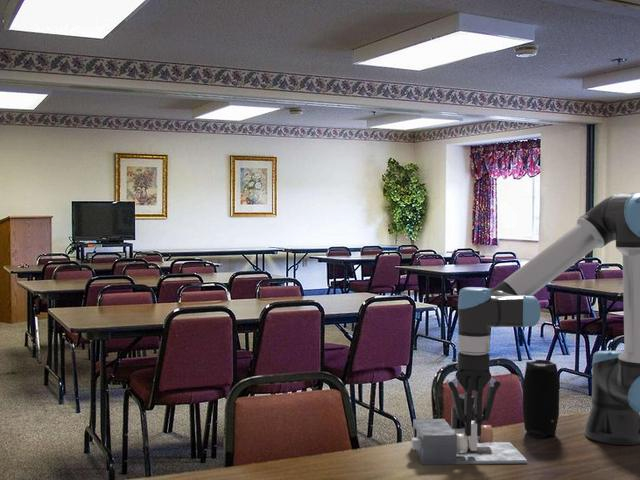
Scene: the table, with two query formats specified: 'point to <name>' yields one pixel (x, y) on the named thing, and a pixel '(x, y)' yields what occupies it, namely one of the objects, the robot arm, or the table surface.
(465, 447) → the knob cream
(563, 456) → the table surface
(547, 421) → the portable speaker
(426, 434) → the mount
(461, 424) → the supplement bottle
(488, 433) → the knob terracotta
